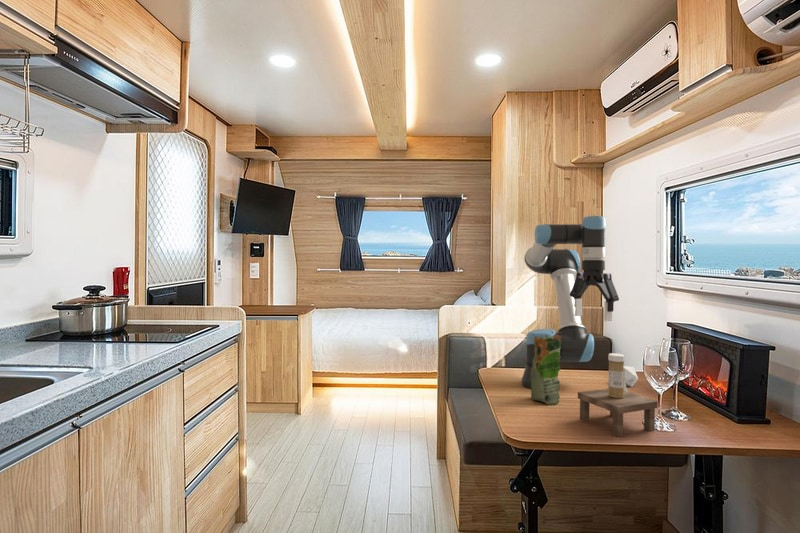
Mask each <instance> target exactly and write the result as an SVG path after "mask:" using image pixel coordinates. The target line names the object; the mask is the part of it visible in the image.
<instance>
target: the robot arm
mask: <svg viewBox="0 0 800 533" xmlns="http://www.w3.org/2000/svg"><path fill="white" fill-rule="evenodd" d="M606 227H607V225H606V218H605V216H601V215H590V216H584V217H583V218H582V223H581V224H580V223H579V224H578V223H573V224H572V223H571V224H569V223H568V224H566V223H565V224H561V223H560V224H557V223H556V224H555V223H554V224H553V223H552V224H551V223H550V224H548V223H544V224H537V225H536V226H535V229H534V243H533V244H532V246H531V247H530V248H528V249H527V250H526V252H525V254H524V258H523V259H524V263H525V265H526V266H527V268H529V269H530V270H531V271H533V272H534V273H537V274H542V275H550V278H551V280H553V281H554V284H555V293H556V300H557V309H558V314H559V322H560V328H558V330H557V332H556V330H555V329H553V328H540V329H539V328H537V329H531V330H530V331H528V332H527V333H526V338H525V346H526V347H525V350H526V351H525V367H524V371H523V373H522V374H523V375H522V377H521V385H522V386H523V387H524V388H529V389H531V380H530V378H531V368H532V363H533V361H532V360H533V359H534V356H535V352H534V351H535V346H534V339H533V338H534V337H535V336H536V337H539V338H540V337H543V338H544V337H546V335H548V336H549V337H550V336H553V335H559V336H562V337H561V342H562V343H561V348H560V357H561V358H560V361H559V362H572V363H585V362H589V361H591V360H592V357H593V355H594V350H595V339H594V338H595V337H594V335H593V334H592V333H588V329H587V327H586V326H584V325H583V322H582V317H583V298H582V296H583V295H584V293H585V292H586V291H587V289H588V287H590V286H593V287H594V286H595V287H597V289H598V290H599V291H600V293H601V294H602V296H603V298H604V300H605V301H604V304H603V305H604V311H603V312H604V313H603V314H604V316H603V321H604V322H612V321H613V312H614V306H615V305H614V302H618V301H620V297H619V295H618V292H617V290H616V287H615V285H614V282H613V280H612V273H609V272H608V273H605V272H604V271H605V270H606V261H605V260H604V259H605V258H606ZM556 245H581V247H582V248H581V250H582V252H581V256H582V261H581V258H580V255H579V253H578V252H577V250H575V249H569V248H564V249H561V248H560V249H559V248H558V249H557V248H555V246H556ZM581 270H582V271H583V272H581Z"/></svg>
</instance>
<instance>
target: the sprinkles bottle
mask: <svg viewBox="0 0 800 533" xmlns="http://www.w3.org/2000/svg"><path fill="white" fill-rule="evenodd" d="M607 358H608V388H609V394H608V395H609V396H610V397H613V398H624V366H625V365H624V364H625V355H624V354H622V353H616V352H615V353H612V352H610V353H608V357H607Z"/></svg>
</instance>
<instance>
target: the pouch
mask: <svg viewBox="0 0 800 533" xmlns="http://www.w3.org/2000/svg"><path fill="white" fill-rule="evenodd" d="M561 337H562V336H559V335H553V336H550V337H549V336H548V335H546V337H544V338H543V337H540V338H539V337H536V336H535V337H534V338H533V339H534V346H535V351H534V352H535V356H534V359H533V360H532V361H533V363H532V368H531V378H530V380H531V388H530V390H531V391H530V393H531V396H530V397H531V398H530V399H531V401H533V400H534V401H538V402H539V401H540V402H542V403H544V404H546V405H547V406H555V405H557V404H559V403H560V397H561V396H560V393H559V391H560V383H561V382H560V379H559V372H560V370H561V366H560V362H561V361H560V358H561V357H560V348H561V343H562V342H561Z"/></svg>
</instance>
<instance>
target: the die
mask: <svg viewBox="0 0 800 533" xmlns="http://www.w3.org/2000/svg"><path fill="white" fill-rule="evenodd" d="M624 376H626V379H625V384H626V387H629V388H632V387H634V386H635V385H636V382H638V380H639V377H638V375H637V372H636V369H635V367H634V366H628V365H627V366H626V365H624Z"/></svg>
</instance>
